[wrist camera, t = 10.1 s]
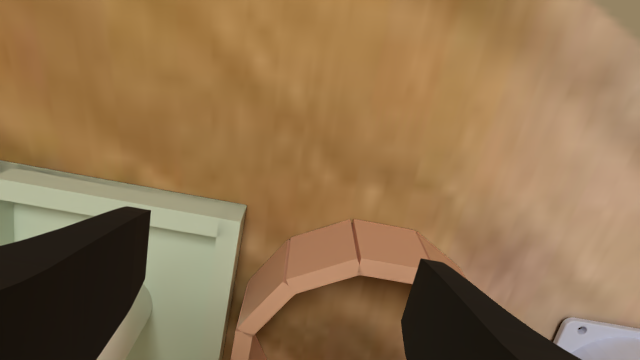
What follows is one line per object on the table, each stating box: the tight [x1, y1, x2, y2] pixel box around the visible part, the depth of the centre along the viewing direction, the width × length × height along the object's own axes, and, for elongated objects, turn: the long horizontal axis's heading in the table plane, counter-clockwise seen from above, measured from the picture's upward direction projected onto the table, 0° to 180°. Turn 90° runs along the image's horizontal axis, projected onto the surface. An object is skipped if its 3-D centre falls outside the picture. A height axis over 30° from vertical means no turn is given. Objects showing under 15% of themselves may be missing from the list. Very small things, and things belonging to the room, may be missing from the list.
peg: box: [97, 284, 152, 360], centre depth 20 cm, size 4×4×7 cm
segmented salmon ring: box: [231, 219, 466, 360], centre depth 23 cm, size 13×13×4 cm
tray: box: [0, 160, 247, 360], centre depth 23 cm, size 12×13×2 cm
